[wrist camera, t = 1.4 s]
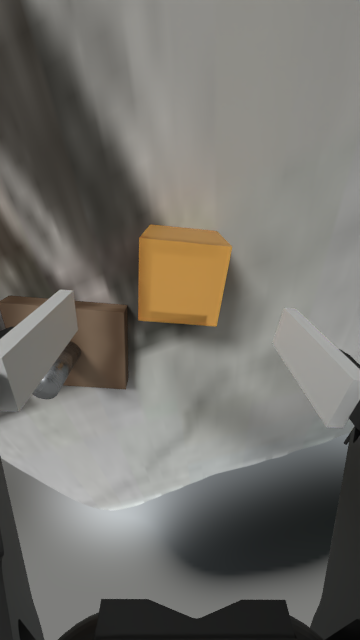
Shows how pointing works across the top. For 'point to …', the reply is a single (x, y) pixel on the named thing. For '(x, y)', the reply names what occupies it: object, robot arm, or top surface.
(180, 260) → the orange cube block
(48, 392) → the post
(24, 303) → the base plate
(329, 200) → the top surface
